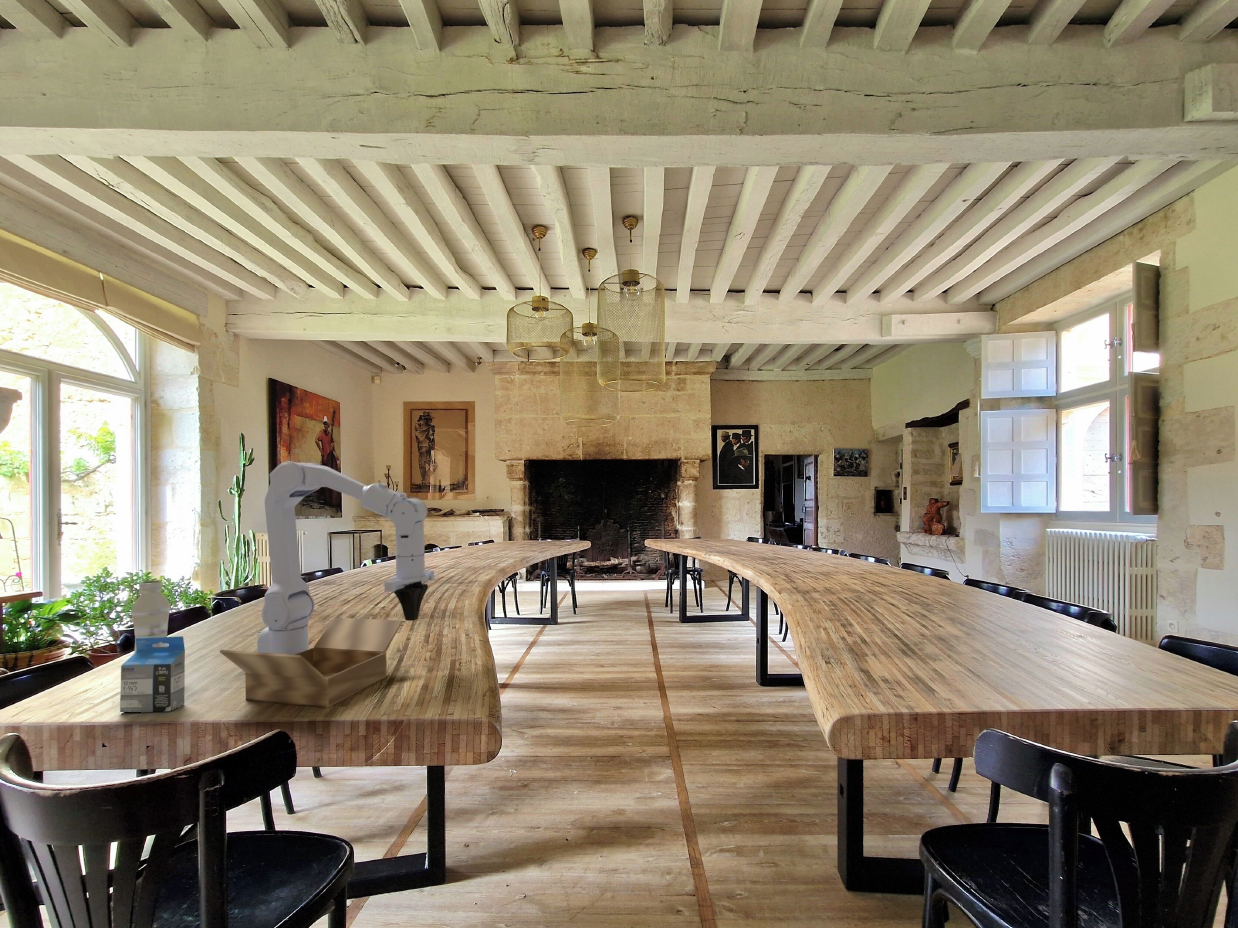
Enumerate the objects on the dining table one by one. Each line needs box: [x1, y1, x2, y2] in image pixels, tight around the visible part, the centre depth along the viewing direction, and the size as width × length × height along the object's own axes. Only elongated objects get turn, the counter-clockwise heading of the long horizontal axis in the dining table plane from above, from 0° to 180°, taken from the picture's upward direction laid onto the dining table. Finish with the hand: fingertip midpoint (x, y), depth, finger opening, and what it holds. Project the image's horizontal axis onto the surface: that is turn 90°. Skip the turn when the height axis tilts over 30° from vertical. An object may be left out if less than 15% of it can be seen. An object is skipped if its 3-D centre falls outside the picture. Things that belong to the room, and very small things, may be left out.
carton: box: [244, 647, 388, 709], centre depth 114 cm, size 18×16×5 cm
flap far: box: [313, 617, 403, 653], centre depth 125 cm, size 17×8×1 cm
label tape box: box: [119, 635, 186, 713], centre depth 106 cm, size 9×4×12 cm, turn 92°
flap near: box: [219, 649, 325, 679], centre depth 104 cm, size 17×8×1 cm
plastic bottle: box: [130, 579, 171, 654], centre depth 122 cm, size 6×7×20 cm
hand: (411, 619), depth 126 cm, fingers closed
